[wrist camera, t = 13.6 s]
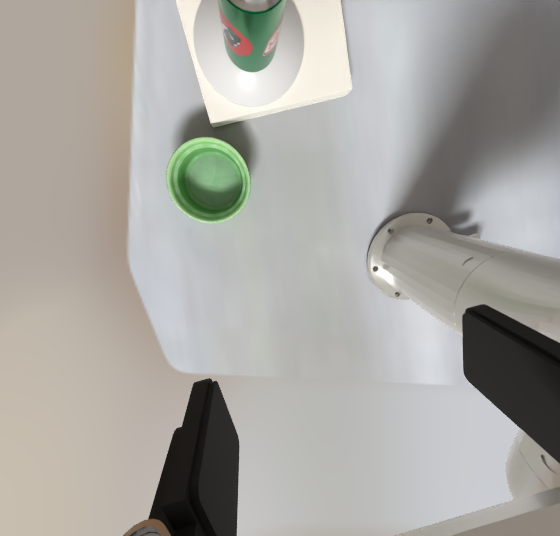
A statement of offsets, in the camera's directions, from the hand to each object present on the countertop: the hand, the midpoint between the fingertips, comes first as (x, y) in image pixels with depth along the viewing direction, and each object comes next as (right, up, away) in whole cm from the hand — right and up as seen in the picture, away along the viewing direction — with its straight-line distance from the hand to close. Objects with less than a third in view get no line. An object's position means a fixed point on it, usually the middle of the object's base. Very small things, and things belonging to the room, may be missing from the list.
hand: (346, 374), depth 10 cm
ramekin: (-11, +15, +24) cm, 30 cm away
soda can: (-5, +26, +18) cm, 32 cm away
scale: (-4, +28, +21) cm, 35 cm away
